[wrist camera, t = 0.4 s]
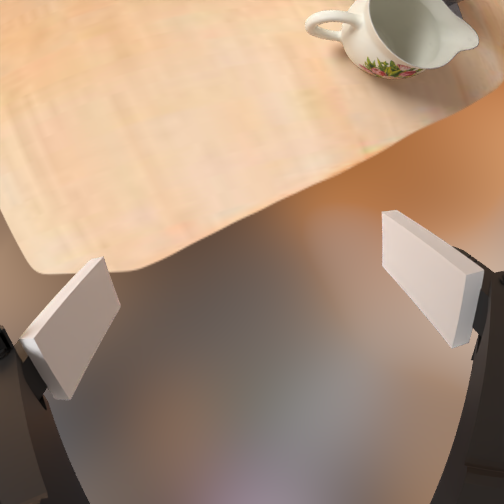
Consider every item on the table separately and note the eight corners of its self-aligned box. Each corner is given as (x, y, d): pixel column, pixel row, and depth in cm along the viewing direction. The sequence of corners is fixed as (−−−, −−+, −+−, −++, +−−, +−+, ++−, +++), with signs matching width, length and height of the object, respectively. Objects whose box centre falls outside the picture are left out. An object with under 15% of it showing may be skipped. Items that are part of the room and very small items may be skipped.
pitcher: (292, 3, 32) (314, -44, 19) (416, 22, 32) (471, -3, 19) (297, 78, 36) (323, 56, 23) (422, 91, 36) (483, 86, 23)
